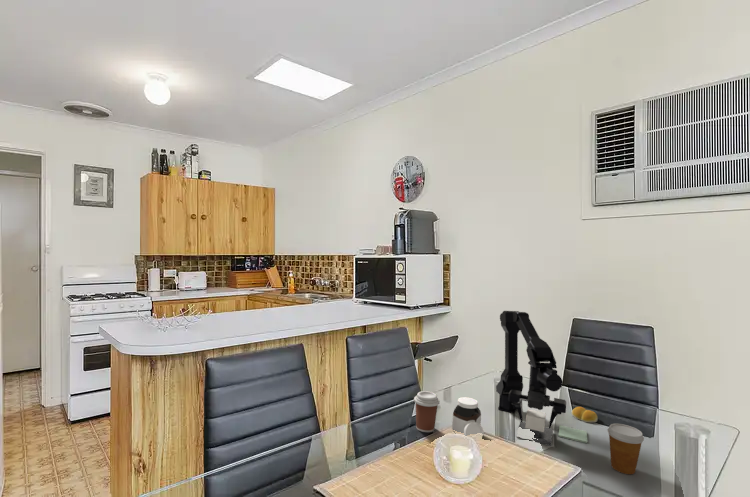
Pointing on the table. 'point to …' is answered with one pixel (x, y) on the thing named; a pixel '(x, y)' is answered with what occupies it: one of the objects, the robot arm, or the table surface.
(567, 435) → the pad
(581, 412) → the bread roll
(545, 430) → the post stand
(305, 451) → the table surface
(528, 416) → the beige block
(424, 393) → the coffee cup
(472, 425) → the spread jar
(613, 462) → the disposable coffee cup
